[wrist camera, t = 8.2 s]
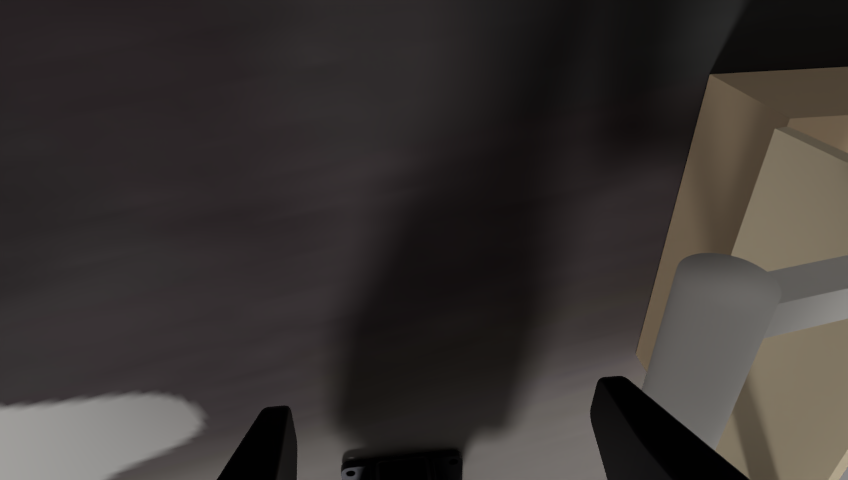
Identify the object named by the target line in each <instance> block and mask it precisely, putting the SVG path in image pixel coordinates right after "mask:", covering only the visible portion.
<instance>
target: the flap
mask: <svg viewBox="0 0 848 480" xmlns="http://www.w3.org/2000/svg"><path fill="white" fill-rule="evenodd" d="M642 391H643V392H644V393H645V394H647V395H648V396H649V397H650V398H652V399H653V400H654V401H655V402H656V403H658V404H659V405H660V406H661V407H663V408H664V409H665V410H666V411H667V412H669V413H670V414H671V415H672V416H673V417H675V418H676V419H677V420H678V421H680V422H681V423H682V424H683V425H684V426H686V427H687V428H688V429H689V430H690V431H692V432H693V433H694V434H695V435H697V436H698V437H699V438H700V439H701V440H703V441H704V442H705V443H706V444H707V445H709V446H710V447H711V448H712V449H714V450H715V451H716V452H717V453H718V454H720V455H721V456H722V457H723V458H724V459H726V460H727V461H728V462H729V463H731V464H732V465H733V466H734V467H735V468H737V469H738V470H739V471H740V472H741V473H743V474H744V475H745V476H746V477H748V478H749V479H750V480H839V479H840V478H841V476H842V475H843V473H844V471H845V470H846V468H847V467H848V153H846V152H844V151H841V150H839V149H837V148H835V147H833V146H831V145H828V144H826V143H824V142H822V141H820V140H817V139H815V138H813V137H811V136H809V135H806V134H804V133H802V132H800V131H798V130H795V129H793V128H791V127H782V128H775V129H774V132H773V135H772V138H771V141H770V144H769V147H768V150H767V153H766V155H765V158H764V161H763V164H762V167H761V170H760V173H759V176H758V178H757V181H756V184H755V187H754V190H753V193H752V196H751V199H750V201H749V204H748V207H747V210H746V213H745V216H744V219H743V222H742V224H741V227H740V230H739V233H738V236H737V239H736V242H735V245H734V247H733V250H732V253H731V255H726V254H719V253H699V254H694V255H690V256H688V257H686V258H684V259H683V260H681V261H680V263H679V264H678V266H677V269H676V272H675V276H674V279H673V283H672V286H671V290H670V293H669V297H668V300H667V304H666V307H665V311H664V314H663V318H662V321H661V325H660V328H659V332H658V335H657V339H656V342H655V346H654V349H653V353H652V356H651V360H650V363H649V367H648V370H647V374H646V377H645V381H644V384H643V388H642Z"/></svg>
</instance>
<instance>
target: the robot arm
mask: <svg viewBox="0 0 848 480" xmlns="http://www.w3.org/2000/svg"><path fill="white" fill-rule="evenodd" d="M590 417H591V423H592V427H593V430H594V434H595V437H596V441H597V444H598V448H599V451H600V455H601V458H602V462H603V465H604V469H605V473H606V476H607V480H750V479H749V478H748V477H746V476H745V475H744V474H743V473H741V472H740V471H739V470H738V469H737V468H735V467H734V466H733V465H732V464H731V463H729V462H728V461H727V460H726V459H724V458H723V457H722V456H721V455H720V454H718V453H717V452H716V451H715V450H714V449H712V448H711V447H710V446H709V445H707V444H706V443H705V442H704V441H703V440H701V439H700V438H699V437H698V436H697V435H695V434H694V433H693V432H692V431H690V430H689V429H688V428H687V427H686V426H684V425H683V424H682V423H681V422H680V421H678V420H677V419H676V418H675V417H673V416H672V415H671V414H670V413H669V412H667V411H666V410H665V409H664V408H663V407H661V406H660V405H659V404H658V403H656V402H655V401H654V400H653V399H652V398H650V397H649V396H648V395H647V394H645V393H644V392H643V391H642V390H641V389H639V388H638V387H637V386H636V385H635V384H633V383H632V382H631V381H630V380H628V379H627V378H625V377H623V376H612V377H603V378H600V379H599V380H598V382H597V385H596V389H595V393H594V397H593V401H592V405H591V410H590ZM341 477H342V480H462V456H461V452H459V451H458V450H446V451H437V452H428V453H419V454H410V455H401V456H392V457H383V458H374V459H365V460H356V461H348V462H345V463H344V464H343V465H342V466H341ZM217 480H297V438H296V433H295V428H294V423H293V418H292V413H291V409H290V408H289V407H288V406H274V407H266V408H264V409H263V410H262V411H261V412H260V414H259V415H258V417H257V418H256V420H255V421H254V423H253V424H252V426H251V428H250V429H249V431H248V432H247V434H246V435H245V437H244V438H243V440H242V441H241V443H240V445H239V446H238V448H237V449H236V451H235V452H234V454H233V455H232V457H231V458H230V460H229V462H228V463H227V465H226V466H225V468H224V469H223V471H222V472H221V474H220V476H219V477H218V479H217Z"/></svg>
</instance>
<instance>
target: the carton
mask: <svg viewBox="0 0 848 480" xmlns="http://www.w3.org/2000/svg"><path fill="white" fill-rule="evenodd" d="M782 127H791V128H793V129H795V130H798V131H800V132H802V133H804V134H806V135H809V136H811V137H813V138H815V139H817V140H820V141H822V142H824V143H826V144H828V145H831V146H833V147H835V148H837V149H839V150H841V151H844V152H846V153H848V67H834V68H816V69H798V70H779V71H761V72H743V73H725V74H710V75H709V79H708V83H707V87H706V90H705V94H704V98H703V102H702V106H701V109H700V113H699V117H698V121H697V124H696V128H695V132H694V136H693V140H692V143H691V147H690V151H689V155H688V158H687V162H686V166H685V170H684V174H683V177H682V181H681V185H680V189H679V193H678V196H677V200H676V204H675V208H674V211H673V215H672V219H671V223H670V227H669V230H668V234H667V238H666V242H665V245H664V249H663V253H662V257H661V261H660V264H659V268H658V272H657V276H656V279H655V283H654V287H653V291H652V295H651V298H650V302H649V306H648V310H647V313H646V317H645V321H644V325H643V329H642V332H641V336H640V340H639V344H638V348H637V351H636V355H637V357H638V358H639V360H640V362H641V363H642V365H643V367H644V368H645V370H646V372H647V370H648V367H649V363H650V360H651V356H652V353H653V349H654V346H655V342H656V339H657V335H658V332H659V328H660V325H661V321H662V318H663V314H664V311H665V307H666V304H667V300H668V297H669V293H670V290H671V286H672V283H673V279H674V276H675V272H676V269H677V266H678V264H679V263H680V261H681V260H683V259H684V258H686V257H688V256H690V255H694V254H699V253H719V254H726V255H731V253H732V250H733V247H734V245H735V242H736V239H737V236H738V233H739V230H740V227H741V224H742V222H743V219H744V216H745V213H746V210H747V207H748V204H749V201H750V199H751V196H752V193H753V190H754V187H755V184H756V181H757V178H758V176H759V173H760V170H761V167H762V164H763V161H764V158H765V155H766V153H767V150H768V147H769V144H770V141H771V138H772V135H773V132H774V129H775V128H782Z"/></svg>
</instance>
